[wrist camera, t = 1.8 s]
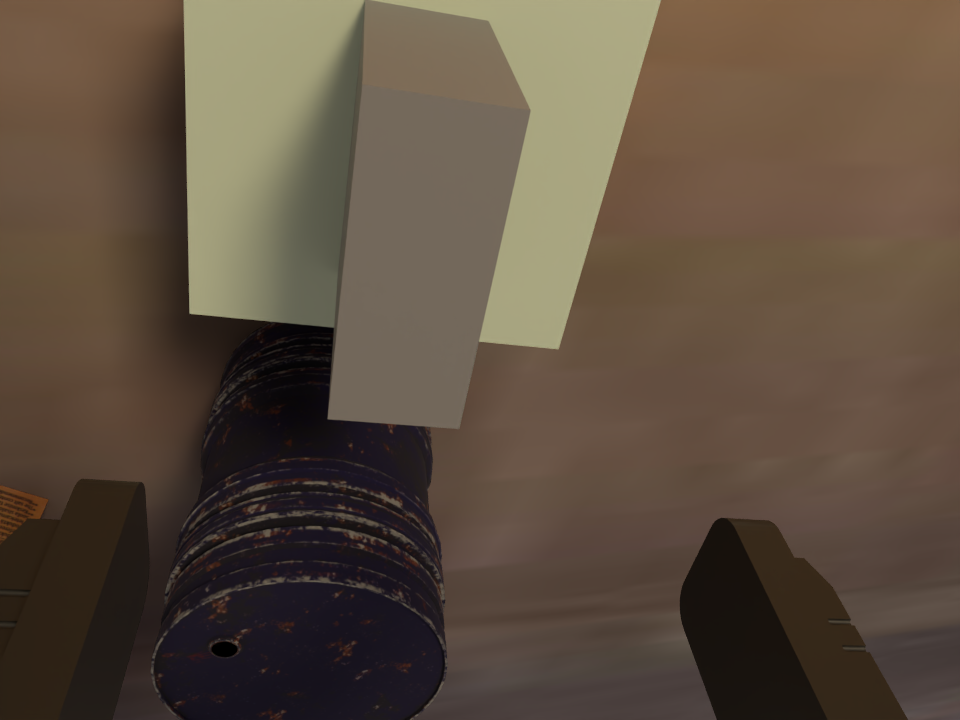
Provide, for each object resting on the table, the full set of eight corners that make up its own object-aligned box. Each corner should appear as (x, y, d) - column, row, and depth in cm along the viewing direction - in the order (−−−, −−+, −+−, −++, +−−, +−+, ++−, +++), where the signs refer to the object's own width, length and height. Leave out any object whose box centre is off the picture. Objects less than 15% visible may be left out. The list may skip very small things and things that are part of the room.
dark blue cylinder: (468, 374, 39) (510, 640, 27) (356, 497, 43) (350, 777, 31) (285, 271, 35) (239, 534, 23) (180, 419, 39) (94, 709, 27)
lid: (196, -135, 20) (97, -85, 13) (648, -45, 22) (780, 41, 15) (200, 281, 27) (136, 468, 20) (548, 317, 29) (606, 497, 22)
